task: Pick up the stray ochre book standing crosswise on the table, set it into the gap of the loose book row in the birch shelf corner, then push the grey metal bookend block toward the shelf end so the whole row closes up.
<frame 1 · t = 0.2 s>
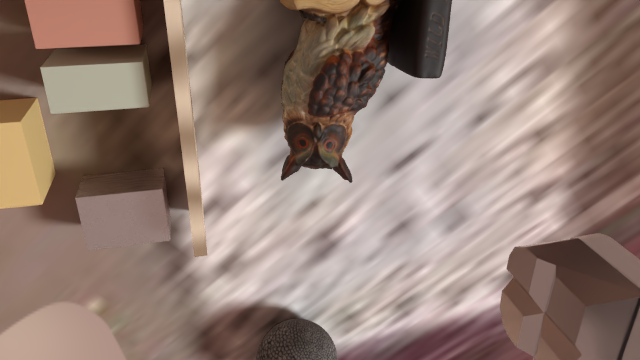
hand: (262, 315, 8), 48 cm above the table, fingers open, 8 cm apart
shelf corner: (111, 103, 53), on the table
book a: (94, 7, 49), on the table
decorative ball: (289, 331, 72), on the table
book c: (24, 138, 53), on the table
brown owl figurine: (339, 39, 56), on the table
bookend block: (128, 196, 58), on the table
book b: (105, 67, 51), on the table
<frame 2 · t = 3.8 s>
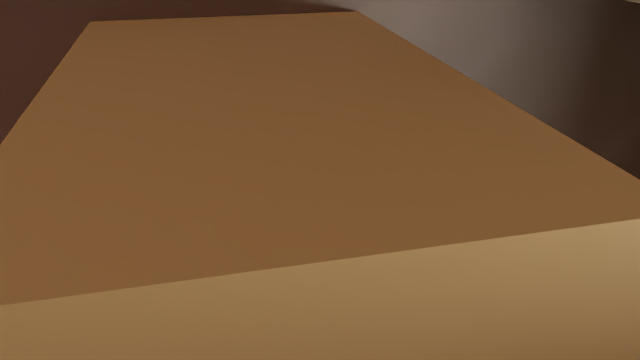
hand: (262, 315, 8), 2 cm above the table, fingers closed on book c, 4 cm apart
book c: (245, 237, 10), on the table, touching gripper
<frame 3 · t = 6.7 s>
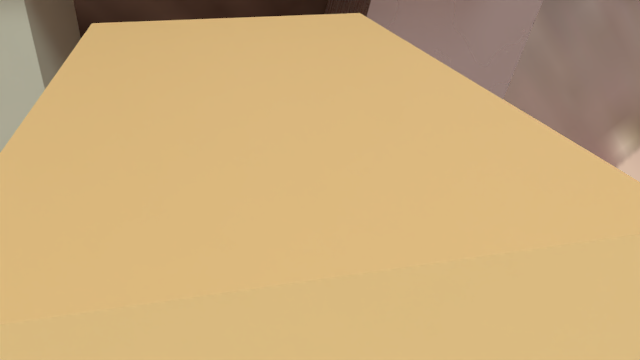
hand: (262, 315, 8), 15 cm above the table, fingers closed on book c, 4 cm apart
book c: (247, 240, 10), point 13 cm above the table, touching gripper
bookend block: (384, 47, 23), on the table
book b: (29, 67, 20), on the table
when the fingers open (3 cm above the table, at t = 9.2 s): book c drops 1 cm, on the table.
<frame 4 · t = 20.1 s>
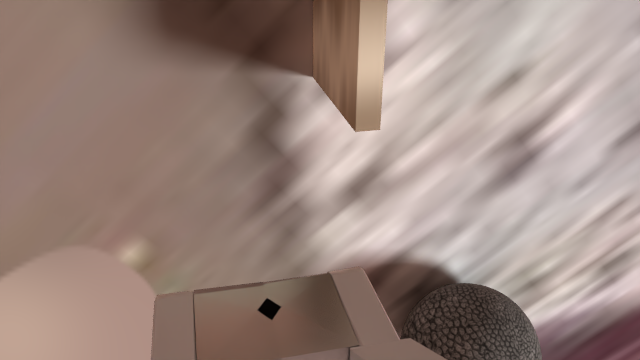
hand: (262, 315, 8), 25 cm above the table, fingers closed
decorative ball: (438, 306, 45), on the table
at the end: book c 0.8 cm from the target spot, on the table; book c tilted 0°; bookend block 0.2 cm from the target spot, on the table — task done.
